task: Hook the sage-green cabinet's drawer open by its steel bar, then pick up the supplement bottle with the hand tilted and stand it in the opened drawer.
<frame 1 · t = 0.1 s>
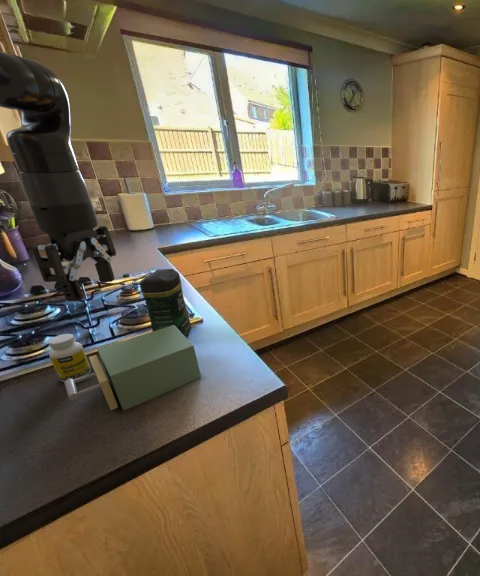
hand: (93, 290, 60), 24 cm above the worktop, tool pointing down, fingers open, 8 cm apart
coffee jar: (175, 336, 90), on the worktop
drawer: (125, 373, 69), point 4 cm above the worktop, slide at 0.5 cm
supplement bottle: (76, 375, 74), on the worktop
cabinet: (156, 379, 74), on the worktop
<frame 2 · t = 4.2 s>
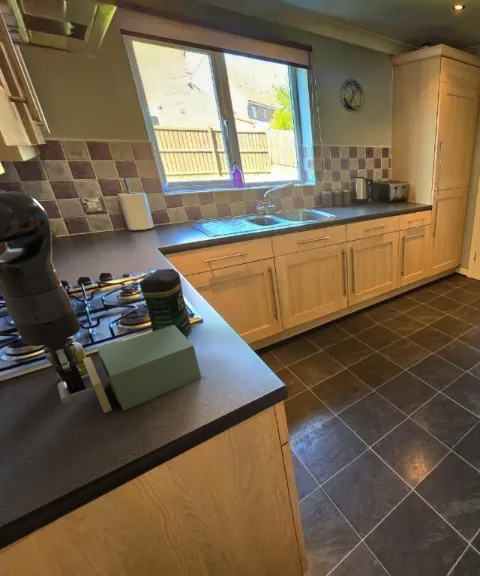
hand: (78, 390, 64), 4 cm above the worktop, tool pointing down, fingers closed
drawer: (120, 375, 68), point 4 cm above the worktop, slide at 1.5 cm
everything else where it was.
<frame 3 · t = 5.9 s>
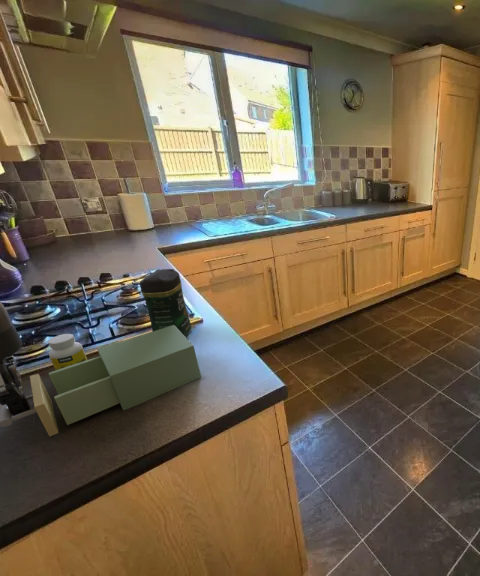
hand: (22, 412, 59), 4 cm above the worktop, tool pointing down, fingers closed
drawer: (71, 393, 63), point 4 cm above the worktop, slide at 9.2 cm, touching gripper
everything else where it was.
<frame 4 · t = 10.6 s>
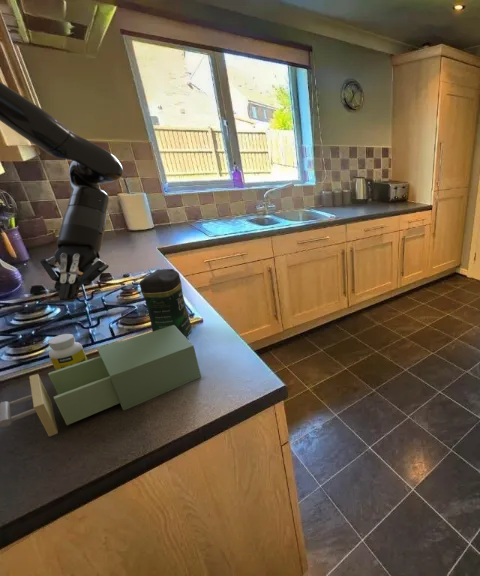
hand: (67, 301, 73), 16 cm above the worktop, tool tilted 40°, fingers closed
drawer: (70, 393, 63), point 4 cm above the worktop, slide at 9.3 cm
everything else where it was.
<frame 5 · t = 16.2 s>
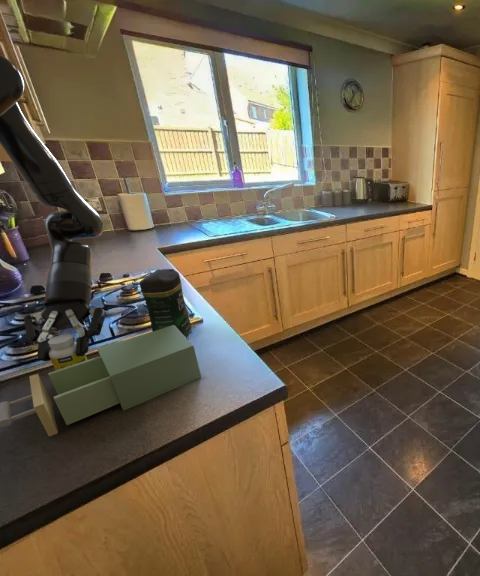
hand: (63, 357, 70), 6 cm above the worktop, tool tilted 45°, fingers closed on supplement bottle, 5 cm apart
supplement bottle: (76, 375, 74), on the worktop, touching gripper
everything else where it was.
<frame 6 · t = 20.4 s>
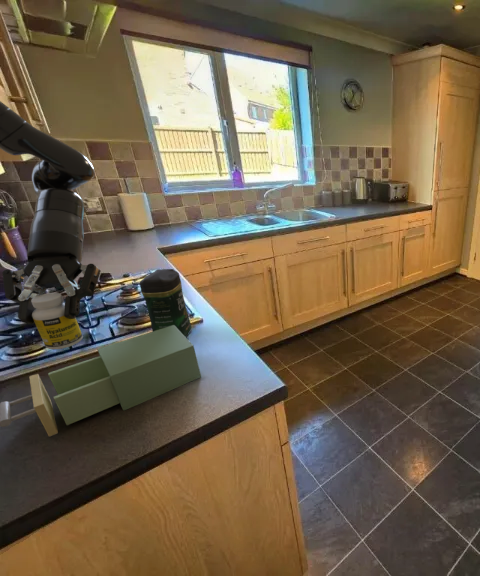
hand: (49, 319, 59), 19 cm above the worktop, tool tilted 45°, fingers closed on supplement bottle, 5 cm apart
supplement bottle: (65, 343, 63), point 13 cm above the worktop, touching gripper
everything else where it was.
when the fingers open (8 cm above the worktop, at t = 24.4 s): supplement bottle stays where it is, resting on drawer.
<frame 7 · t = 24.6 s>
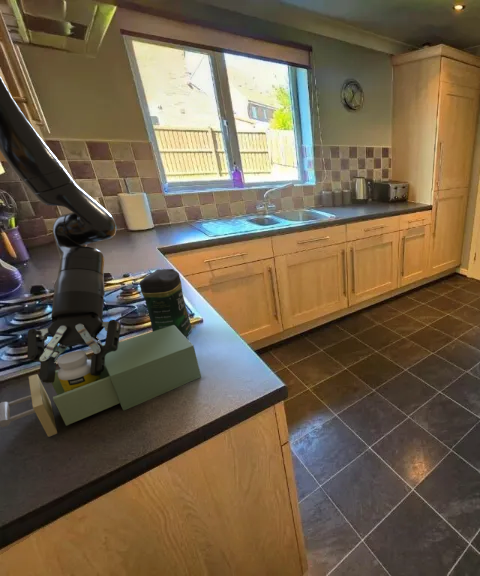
hand: (72, 378, 61), 8 cm above the worktop, tool tilted 45°, fingers open, 6 cm apart
drawer: (69, 393, 63), point 4 cm above the worktop, slide at 9.4 cm, touching supplement bottle
supplement bottle: (88, 398, 65), point 2 cm above the worktop, touching drawer
everything else where it was.
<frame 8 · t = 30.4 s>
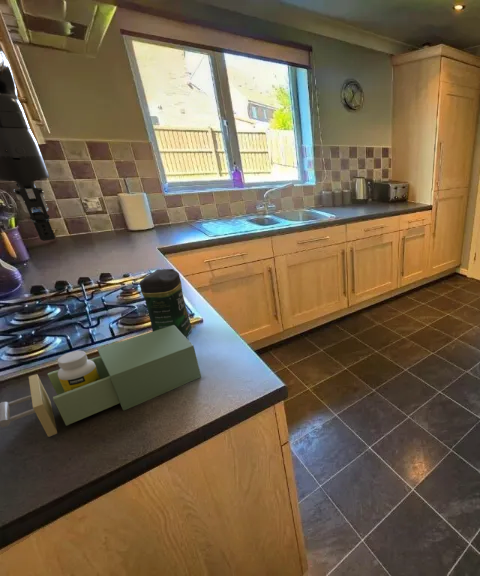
hand: (46, 235, 70), 30 cm above the worktop, tool pointing down, fingers open, 8 cm apart
nothing on the worktop moved.
at the end: drawer slide at 9.4 cm; supplement bottle inside the target area in the drawer (0.1 cm from its centre), point 1.8 cm above the cabinet's base; supplement bottle tilted 0° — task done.
